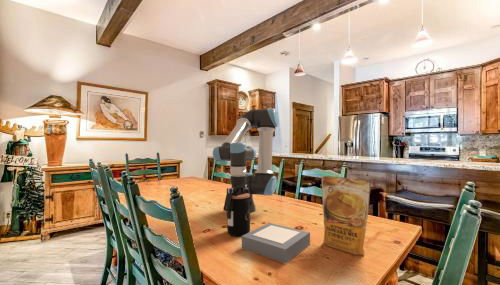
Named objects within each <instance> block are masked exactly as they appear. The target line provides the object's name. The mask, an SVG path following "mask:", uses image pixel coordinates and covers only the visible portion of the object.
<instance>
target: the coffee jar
mask: <svg viewBox="0 0 500 285" xmlns="http://www.w3.org/2000/svg"><path fill="white" fill-rule="evenodd" d="M249 197H250V194H249V193H246V194H241V195H238V196H232V198H231V202H232V200H234V201H233V209H232V211H233V226H229V225H228V219H227V218H226V221H227V225H226V226H227V229H226V230H227V233H228V235H230V236H232V237H239V238H240V237H242V236H243V235H245V234H247V233H249V232H251V213H250V199H249ZM229 209H230V208H229Z"/></svg>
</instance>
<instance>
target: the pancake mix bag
mask: <svg viewBox="0 0 500 285" xmlns="http://www.w3.org/2000/svg"><path fill="white" fill-rule="evenodd" d="M320 179H321V195H322V196H321V198H322V211H323V212H322V213H323V225H324V226H323V227H324V228H323V229H324V230H323V232H324V234H323V235H324V236H323V242H322V243H323V244H326V246H327V247H329V248H331V249H335V250H337V251H341V252H345V253H346V254H351V255H354V256H359V255H360V256H365V251H364V250H365V249H364V244H365V239H366V234H367V233H366V231H367V223H368V219H369V218H368V215H369V211H370V196H371V190H372V188H371V187H372V186H371V182H368V180H367V179H362V178H361V179H360V178H359V179H358V178H350V177H349V178H348V177H344V176H343V177H341V176H329V175H324V176H322V177H320Z"/></svg>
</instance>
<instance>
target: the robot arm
mask: <svg viewBox="0 0 500 285" xmlns="http://www.w3.org/2000/svg"><path fill="white" fill-rule="evenodd" d="M279 123H280V120H279V115H278V112H277V110H276V109H275V108H258V109H250V110H247V111H246V112H243V114H242V115H241V116H240V117H238V119H237V120H236V125H235V126H234V128H233V129H232V131H231V132H230V133H229V134H228V136H227V137H226V139H225V140H224V142H223V143H222V144H221V146H215V147H214V148H213V150H212V156H213V159H214V160H216V161H218V162H219V161H220V162H224V161H225V162H229V163H230V164H229V165H230V166H229V167H230V168H229V170H230V173H229V174H230V184H231V187H230V188H229V187H226V195H225V199H224V204H223V211H226V220H227V219H228V225H229V226H233V211H232V209H233V201H234V200H232V202H231V198H232V196H238V195H241V194H246V193H249V194H250V197H249V199H250V214H252V213H253V212H255V211H256V205H255V201H254V198H253V196H254V195H257V196H273V195H274V193H275V192H276V188H277V184H278V178H277V176H276V175H275V173H274V171H273V170H272V169H273V168H272V167H273V166H272V165H273V164H272V163H273V143H274V142H273V139H274V138H273V137H274V132H276V128H277V127H279V125H280V124H279ZM252 128H256V129H257V131H258V132H259V133H258V134H259V135H258V154H257V152H256V149H255V148H254V147H253V146H249V145H248V146H247V144H246V142H242V139H244V136H245V135H246V133H247V132H248V131H250V129H252ZM257 155H258V156H257ZM256 156H257V170H255V172H254V173H252V172H247V162H251V161H253V160H254V159H255V158H256ZM229 208H230V209H229Z"/></svg>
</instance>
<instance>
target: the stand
mask: <svg viewBox="0 0 500 285" xmlns="http://www.w3.org/2000/svg"><path fill="white" fill-rule="evenodd" d="M310 245H311V232H310V231H305V230H300V229H298V228H292V227H288V226H285V225H282V224H281V225H280V224H276V223H271V222H268V223H266V224H264V225H262V226H260V227H258V228H256V229H253V230H252V231H251V230H250V232H249V233H247V234H245V235H243V236H241V249H242V250H245V251H247V250H248V251H247V252H250V253H253V254H256V255H260V256H262V257H265V258H268V259H269V260H270V259H271V260H273V261H276V262H279V263H282V264H285V265H287V264H288V263H289V262H290V261H292V260H293V259H294V258H295V257H296V256H298V255H299V254H300V253H301V252H302V251H303V252H304V250H306V248H308V247H309V246H310Z"/></svg>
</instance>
